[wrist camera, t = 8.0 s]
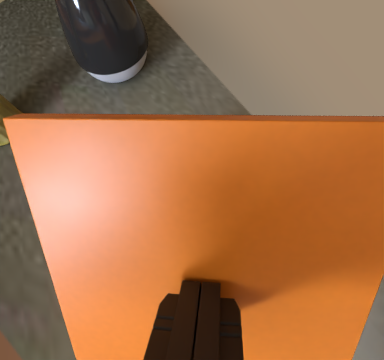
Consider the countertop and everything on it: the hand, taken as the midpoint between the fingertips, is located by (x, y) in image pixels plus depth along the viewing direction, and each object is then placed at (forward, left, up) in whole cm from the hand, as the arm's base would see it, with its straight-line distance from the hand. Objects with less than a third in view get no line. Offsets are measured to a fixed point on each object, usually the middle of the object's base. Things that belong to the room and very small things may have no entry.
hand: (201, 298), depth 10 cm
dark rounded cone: (-10, -32, -17) cm, 38 cm away
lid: (0, 0, -1) cm, 2 cm away
